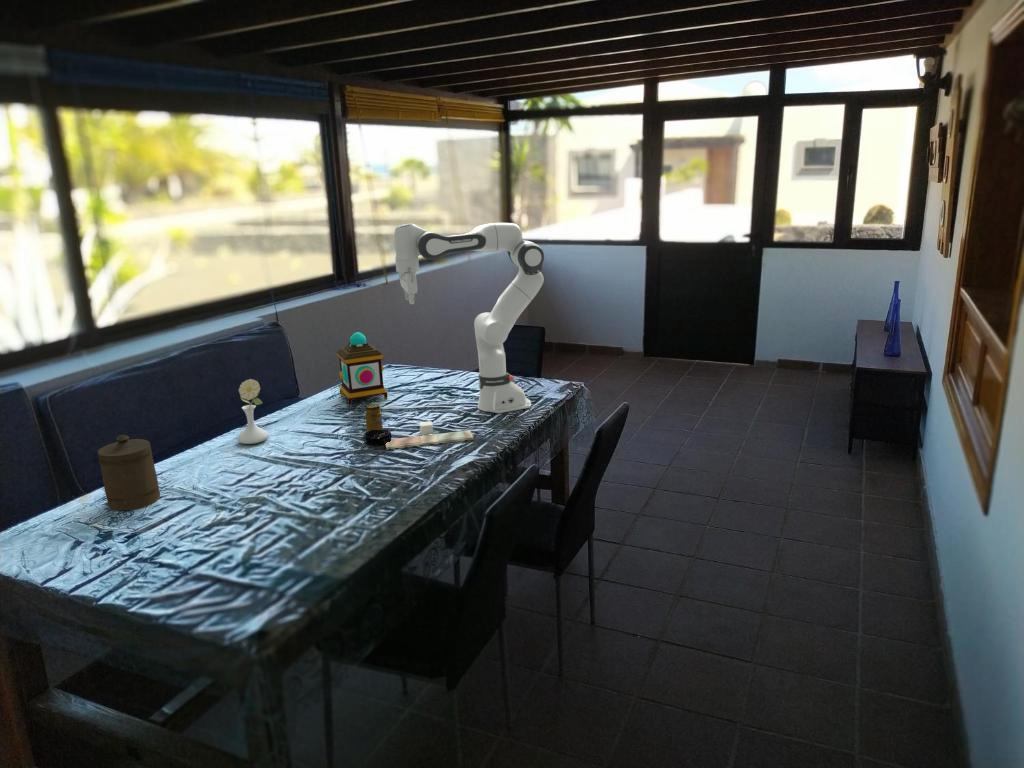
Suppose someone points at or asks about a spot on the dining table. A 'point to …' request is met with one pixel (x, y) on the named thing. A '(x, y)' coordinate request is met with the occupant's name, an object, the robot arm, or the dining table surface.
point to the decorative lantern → (360, 369)
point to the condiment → (373, 417)
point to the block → (426, 428)
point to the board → (429, 439)
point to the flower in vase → (251, 414)
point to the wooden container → (128, 474)
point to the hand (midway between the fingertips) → (410, 302)
